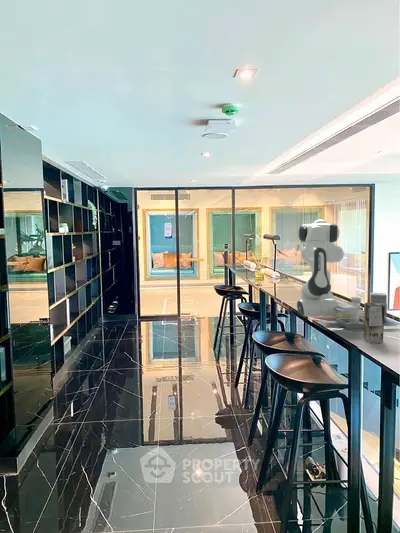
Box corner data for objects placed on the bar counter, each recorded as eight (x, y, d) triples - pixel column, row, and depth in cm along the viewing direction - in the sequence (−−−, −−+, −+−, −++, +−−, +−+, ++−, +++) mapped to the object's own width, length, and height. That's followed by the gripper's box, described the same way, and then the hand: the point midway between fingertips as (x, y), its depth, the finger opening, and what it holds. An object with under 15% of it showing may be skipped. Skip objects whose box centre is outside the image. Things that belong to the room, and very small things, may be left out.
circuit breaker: (370, 325, 201) (371, 296, 200) (369, 319, 214) (370, 292, 213) (386, 326, 198) (387, 297, 197) (384, 320, 211) (385, 293, 210)
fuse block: (330, 317, 219) (330, 309, 219) (350, 317, 220) (350, 309, 220) (340, 322, 207) (340, 314, 207) (361, 322, 209) (362, 313, 208)
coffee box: (383, 343, 169) (385, 306, 168) (367, 342, 171) (369, 305, 169) (378, 337, 178) (379, 302, 177) (363, 337, 179) (364, 301, 178)
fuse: (347, 324, 201) (349, 296, 199) (356, 324, 201) (358, 297, 200) (352, 326, 196) (354, 298, 195) (360, 326, 197) (362, 298, 195)
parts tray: (335, 324, 204) (335, 318, 203) (361, 323, 205) (361, 317, 205) (346, 330, 192) (347, 323, 192) (373, 329, 194) (374, 323, 193)
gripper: (340, 304, 186) (368, 304, 187) (321, 297, 206) (347, 297, 208) (339, 318, 186) (367, 317, 188) (321, 309, 206) (346, 308, 208)
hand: (356, 306), depth 198 cm, fingers open, 5 cm apart
